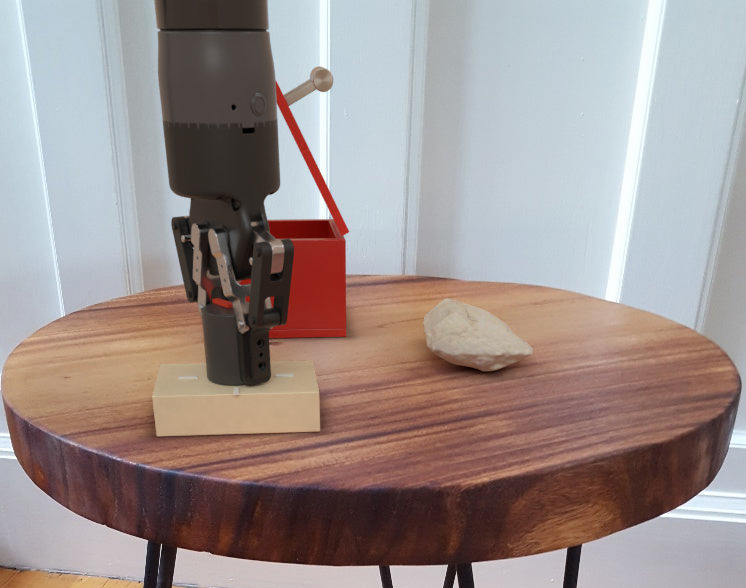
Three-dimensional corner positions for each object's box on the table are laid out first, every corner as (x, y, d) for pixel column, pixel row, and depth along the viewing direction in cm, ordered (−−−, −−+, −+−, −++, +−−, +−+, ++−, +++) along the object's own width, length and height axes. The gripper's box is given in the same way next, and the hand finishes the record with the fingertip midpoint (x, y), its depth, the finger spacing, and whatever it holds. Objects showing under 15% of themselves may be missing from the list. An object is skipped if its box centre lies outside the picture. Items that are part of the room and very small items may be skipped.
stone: (433, 382, 81) (436, 321, 79) (408, 339, 92) (410, 285, 90) (539, 378, 82) (545, 318, 80) (502, 337, 93) (506, 283, 91)
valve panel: (156, 438, 70) (151, 395, 68) (164, 400, 77) (159, 360, 75) (320, 433, 71) (319, 390, 69) (313, 396, 78) (312, 357, 76)
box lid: (268, 85, 81) (324, 51, 80) (265, 79, 91) (315, 49, 90) (341, 236, 88) (393, 206, 87) (332, 216, 98) (378, 189, 97)
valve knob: (277, 377, 72) (273, 304, 69) (228, 389, 69) (222, 314, 67) (244, 364, 75) (239, 293, 72) (195, 375, 72) (189, 302, 69)
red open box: (216, 339, 92) (208, 241, 87) (218, 310, 101) (211, 220, 97) (346, 336, 93) (345, 239, 88) (336, 308, 103) (335, 219, 98)
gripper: (122, 109, 66) (153, 360, 75) (220, 123, 56) (242, 409, 65) (219, 105, 69) (237, 345, 79) (327, 118, 60) (333, 389, 69)
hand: (239, 372), depth 72 cm, fingers closed on valve knob, 4 cm apart
